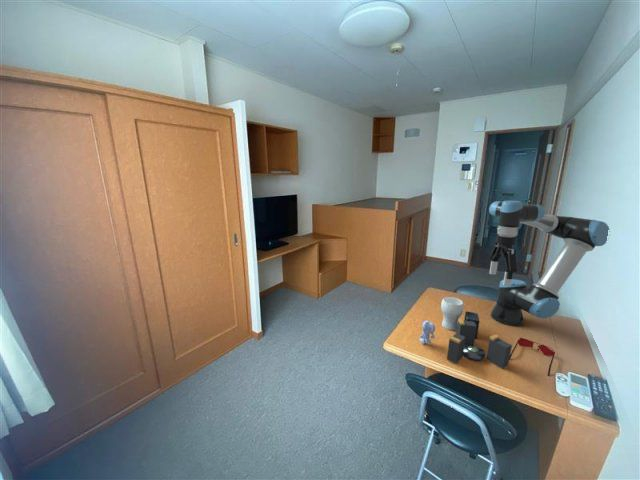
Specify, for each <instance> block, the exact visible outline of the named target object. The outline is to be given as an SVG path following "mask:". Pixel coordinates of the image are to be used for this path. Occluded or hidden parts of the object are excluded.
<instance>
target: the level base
mask: <svg viewBox="0 0 640 480" xmlns="http://www.w3.org/2000/svg"><path fill="white" fill-rule="evenodd" d="M462 358H465V359H466V360H468V361H472V362H476V363H478V362H479V363H481V362H483V361H484V360H485V358H486V352H485V350H484V348H482V347H480V346H479V345H476V344H475V343H474V344H469V343H466V344H465V345H464V352H463V357H462Z"/></svg>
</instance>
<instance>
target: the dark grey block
mask: <svg viewBox="0 0 640 480" xmlns="http://www.w3.org/2000/svg"><path fill="white" fill-rule="evenodd" d="M465 338H466V337H464V336H462V335H459V334H457V333H455V334H454V335H453V336H452V335H451V336H449V340H448V347H447V356H446V360H447V361H449V362H452V363H453V364H456V365H457V364H458V363H459V362H460V360H461V359H463V358H464V357H463V352H464V345H465Z"/></svg>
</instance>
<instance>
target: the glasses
mask: <svg viewBox="0 0 640 480" xmlns="http://www.w3.org/2000/svg"><path fill="white" fill-rule="evenodd" d="M534 344H537V347H538V348H537V351H538V352H539V351H541V353H542V354H543V355H544V356H547V357H551V359H550V363H549V367H548V371H547V377H550V374H551V369H552V365H553V362H554V357H555V354H556V352H555V350H554V349H553V348H552V347H549V346H547V345H545V344H542V343H538V342H535V341H532V340H529V339H526V338H523V337H520V338H519V339H518V340H517V342H516V344H515V345H514V347H513V349H511V354H510V359H509V361H510V360H511V358H512V356H513V353H514V352H515V350H516V348H517V346H518V345H519V347H527V348H531V349H532V348H534Z"/></svg>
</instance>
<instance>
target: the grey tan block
mask: <svg viewBox="0 0 640 480" xmlns="http://www.w3.org/2000/svg"><path fill="white" fill-rule="evenodd" d="M457 323H458V325H457V330H456V333H457V334H459V335H462V336H464V337H466V338H465V344H466V343H469V344H474V345H475V341H476V339H475V335H476V328H477V326H476V324H475V323H474V322H471V321H464V320H463V319H462V318H458V322H457ZM456 333H455V334H456Z"/></svg>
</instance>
